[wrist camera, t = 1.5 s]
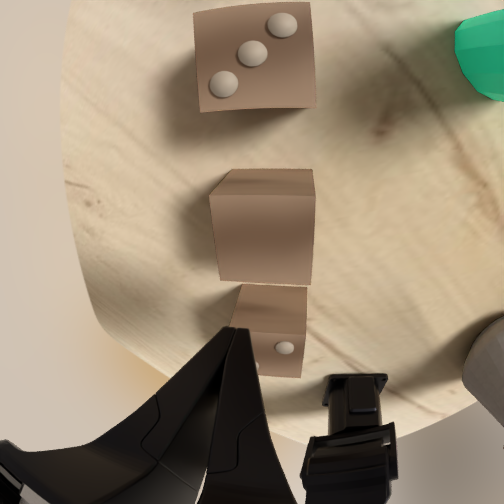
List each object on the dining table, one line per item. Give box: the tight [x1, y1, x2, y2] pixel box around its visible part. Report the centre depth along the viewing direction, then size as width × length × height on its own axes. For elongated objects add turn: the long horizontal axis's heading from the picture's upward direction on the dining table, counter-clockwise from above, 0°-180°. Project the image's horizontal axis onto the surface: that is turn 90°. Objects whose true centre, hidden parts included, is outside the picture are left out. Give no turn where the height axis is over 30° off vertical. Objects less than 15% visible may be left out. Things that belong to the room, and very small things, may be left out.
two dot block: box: [229, 284, 307, 378], centre depth 21 cm, size 5×5×5 cm
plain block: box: [209, 169, 316, 285], centre depth 16 cm, size 5×5×5 cm
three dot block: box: [193, 2, 316, 113], centre depth 12 cm, size 5×5×5 cm
